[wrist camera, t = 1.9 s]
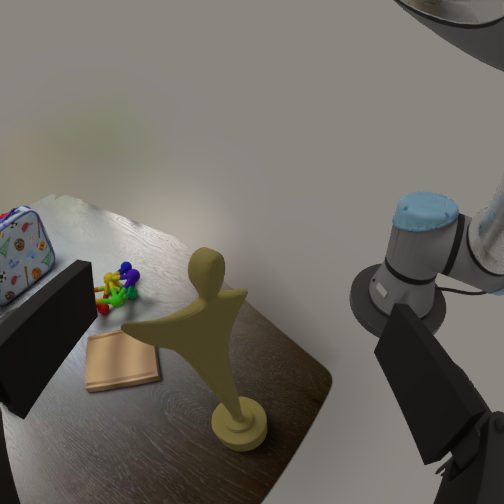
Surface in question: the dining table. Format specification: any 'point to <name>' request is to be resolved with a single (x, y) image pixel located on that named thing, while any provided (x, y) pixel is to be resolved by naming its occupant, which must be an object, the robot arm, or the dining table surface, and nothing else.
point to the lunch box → (22, 252)
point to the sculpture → (209, 348)
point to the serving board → (119, 362)
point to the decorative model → (118, 287)
